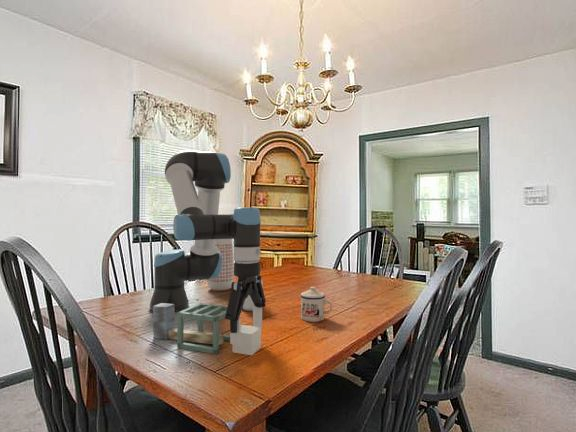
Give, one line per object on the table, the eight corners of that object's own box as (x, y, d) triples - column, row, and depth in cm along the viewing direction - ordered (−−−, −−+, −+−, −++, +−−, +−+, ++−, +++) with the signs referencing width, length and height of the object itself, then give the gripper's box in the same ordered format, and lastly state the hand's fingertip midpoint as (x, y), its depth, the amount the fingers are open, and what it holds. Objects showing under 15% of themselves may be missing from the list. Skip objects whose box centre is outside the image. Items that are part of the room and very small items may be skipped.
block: (232, 352, 100) (232, 331, 100) (242, 345, 106) (242, 324, 106) (251, 355, 98) (251, 334, 98) (260, 347, 104) (260, 327, 104)
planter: (231, 292, 173) (231, 234, 173) (204, 292, 174) (204, 234, 173) (235, 286, 187) (235, 233, 186) (210, 286, 187) (210, 232, 187)
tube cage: (177, 347, 104) (177, 312, 103) (200, 334, 114) (200, 303, 114) (216, 354, 99) (216, 317, 99) (236, 340, 109) (236, 307, 109)
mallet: (153, 338, 111) (152, 306, 111) (162, 334, 115) (161, 303, 115) (217, 346, 103) (216, 311, 103) (224, 341, 107) (224, 308, 107)
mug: (255, 312, 140) (255, 284, 140) (236, 309, 143) (236, 282, 143) (269, 305, 151) (269, 278, 151) (251, 302, 154) (251, 277, 154)
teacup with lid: (297, 320, 130) (297, 288, 129) (304, 313, 138) (304, 283, 138) (329, 324, 125) (329, 291, 125) (335, 317, 134) (335, 286, 134)
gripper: (237, 268, 88) (237, 353, 89) (276, 257, 112) (276, 324, 112) (211, 266, 91) (211, 349, 91) (254, 256, 114) (254, 322, 114)
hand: (247, 336), depth 102 cm, fingers open, 13 cm apart
